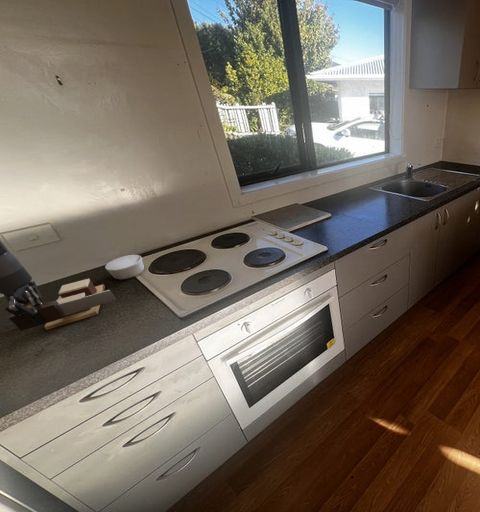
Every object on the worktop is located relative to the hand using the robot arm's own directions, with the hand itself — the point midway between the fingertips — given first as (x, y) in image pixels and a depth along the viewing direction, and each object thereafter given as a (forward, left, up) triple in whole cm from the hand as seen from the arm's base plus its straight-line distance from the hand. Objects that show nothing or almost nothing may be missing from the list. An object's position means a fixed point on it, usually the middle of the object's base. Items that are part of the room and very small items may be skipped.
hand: (42, 320), depth 83 cm
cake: (+4, +16, -4) cm, 18 cm away
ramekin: (+16, +28, -6) cm, 33 cm away
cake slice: (+4, +8, -4) cm, 10 cm away
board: (+3, +13, -6) cm, 15 cm away
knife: (+6, 0, -1) cm, 6 cm away
